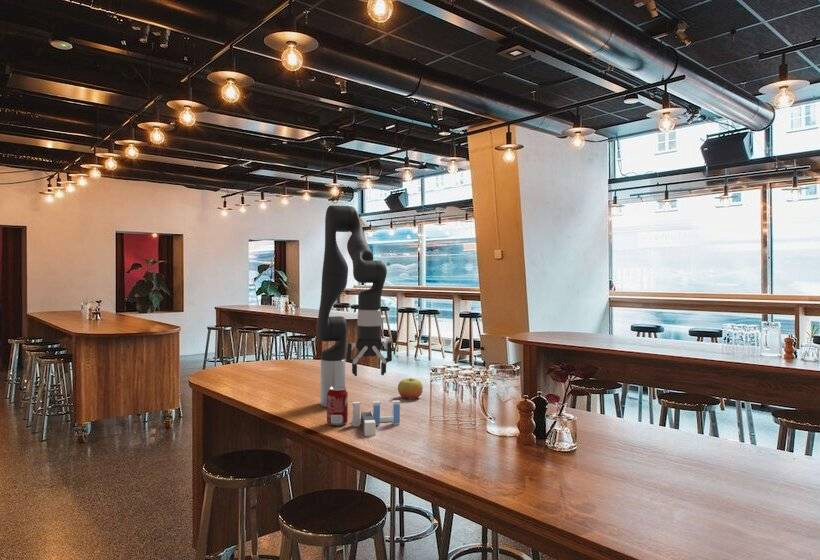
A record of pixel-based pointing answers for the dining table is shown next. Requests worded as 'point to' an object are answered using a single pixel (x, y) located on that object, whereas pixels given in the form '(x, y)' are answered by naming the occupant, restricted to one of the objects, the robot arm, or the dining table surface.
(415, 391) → the apple
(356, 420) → the upright peg stand
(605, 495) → the dining table surface
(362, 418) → the grey rectangular bar
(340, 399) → the soda can
